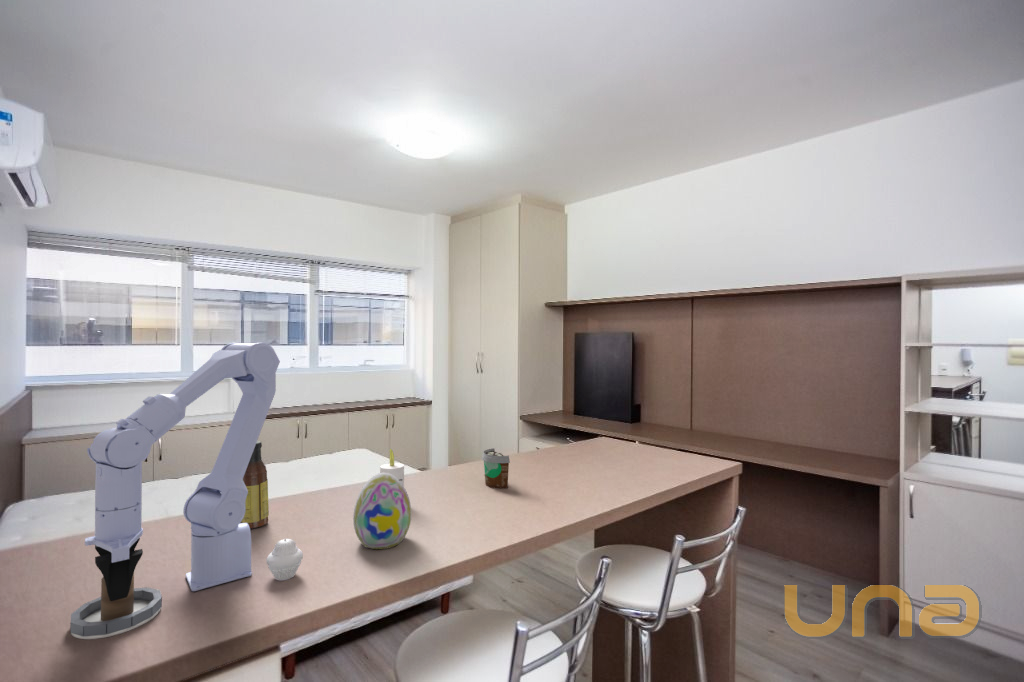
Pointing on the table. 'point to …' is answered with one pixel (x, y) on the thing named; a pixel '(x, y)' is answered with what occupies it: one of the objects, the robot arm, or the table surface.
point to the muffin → (284, 559)
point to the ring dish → (92, 627)
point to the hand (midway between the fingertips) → (118, 591)
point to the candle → (393, 468)
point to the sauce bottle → (256, 490)
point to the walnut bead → (116, 603)
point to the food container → (495, 469)
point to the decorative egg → (382, 512)
